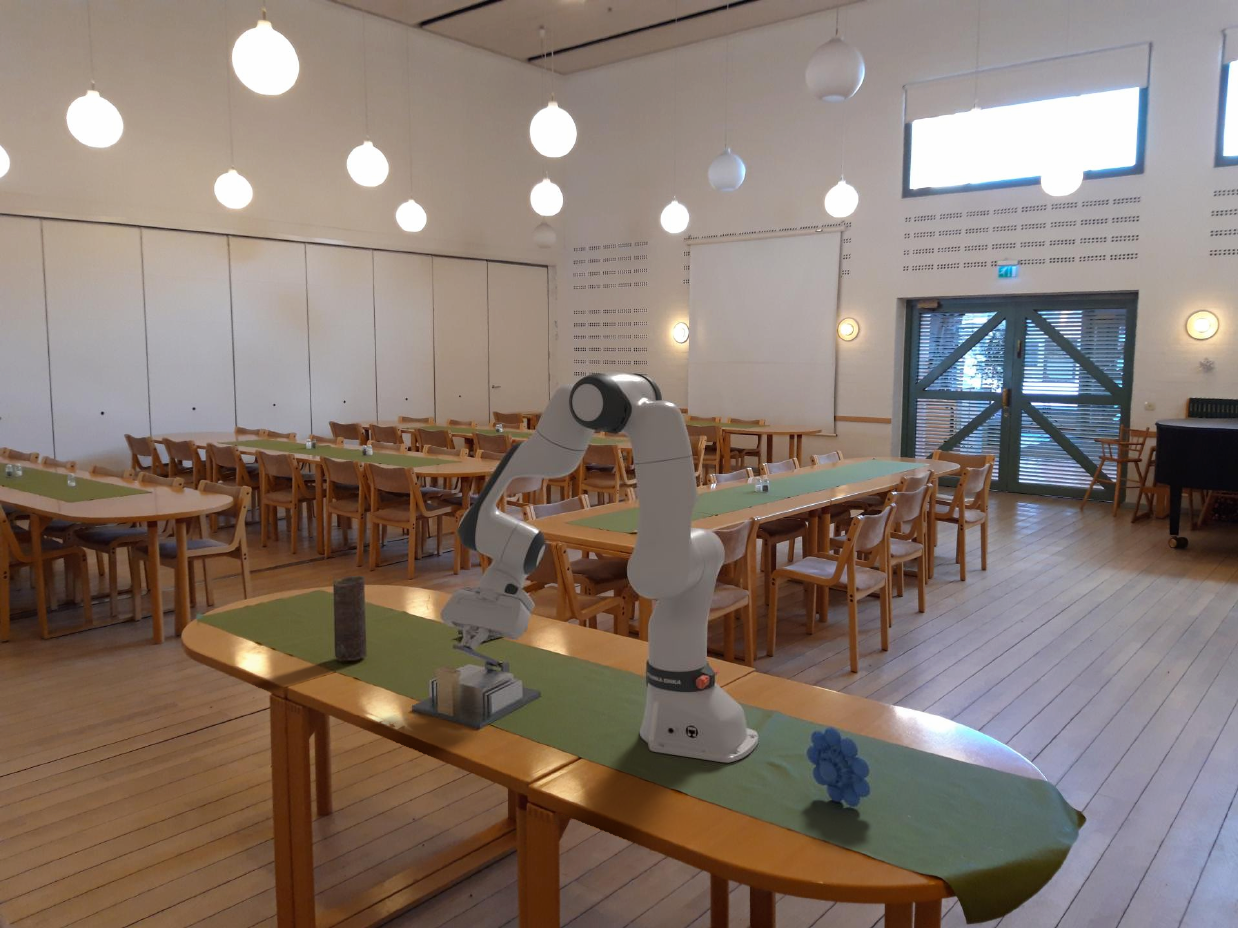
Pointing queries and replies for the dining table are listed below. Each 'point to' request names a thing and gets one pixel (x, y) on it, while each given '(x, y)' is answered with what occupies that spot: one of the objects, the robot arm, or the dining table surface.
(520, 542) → the robot arm
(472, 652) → the retention strap
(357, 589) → the candle
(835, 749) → the blue flower
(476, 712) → the grey boxy piece
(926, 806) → the dining table surface
